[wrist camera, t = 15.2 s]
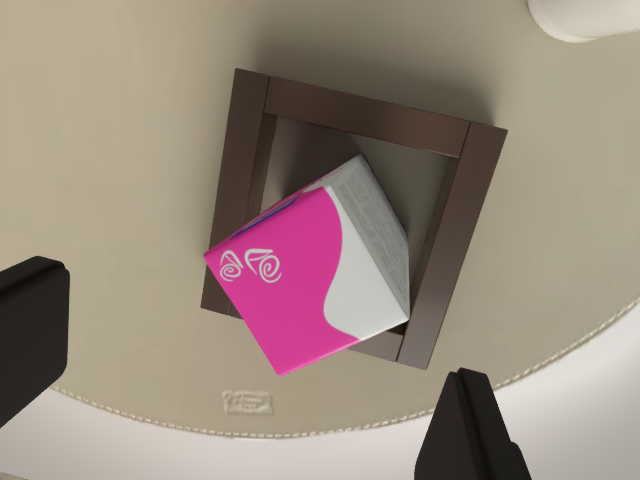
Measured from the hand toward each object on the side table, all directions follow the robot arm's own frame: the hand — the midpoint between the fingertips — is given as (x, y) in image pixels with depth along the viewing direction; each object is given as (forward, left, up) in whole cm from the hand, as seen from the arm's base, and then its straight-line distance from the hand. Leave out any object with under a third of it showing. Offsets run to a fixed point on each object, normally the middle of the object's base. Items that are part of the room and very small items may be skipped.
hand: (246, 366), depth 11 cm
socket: (0, 0, -17) cm, 17 cm away
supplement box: (0, 0, -17) cm, 17 cm away
